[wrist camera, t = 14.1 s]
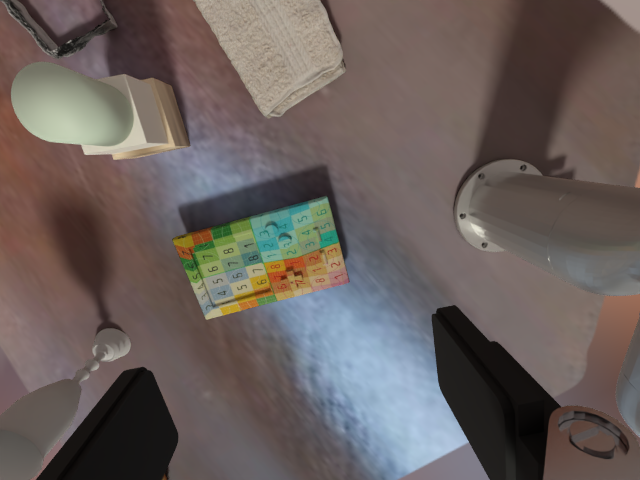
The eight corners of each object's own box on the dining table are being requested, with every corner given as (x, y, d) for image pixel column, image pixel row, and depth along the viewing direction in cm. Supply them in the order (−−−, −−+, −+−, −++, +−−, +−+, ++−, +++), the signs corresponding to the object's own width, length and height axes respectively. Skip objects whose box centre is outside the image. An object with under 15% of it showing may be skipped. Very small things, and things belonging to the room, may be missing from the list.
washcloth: (270, 126, 40) (267, 124, 37) (177, -20, 35) (165, -36, 32) (351, 70, 38) (355, 64, 36) (266, -90, 34) (262, -112, 31)
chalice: (96, 366, 48) (-21, 489, 31) (80, 327, 46) (-55, 436, 29) (144, 358, 48) (54, 478, 31) (129, 319, 46) (25, 423, 29)
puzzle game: (350, 285, 41) (203, 323, 42) (346, 271, 46) (213, 306, 46) (328, 198, 38) (168, 241, 38) (325, 192, 42) (183, 231, 43)
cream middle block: (150, 84, 33) (124, 73, 28) (168, 143, 35) (147, 142, 30) (94, 95, 33) (58, 86, 28) (115, 153, 35) (84, 154, 30)
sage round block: (119, 75, 28) (70, 52, 23) (142, 138, 30) (101, 132, 24) (61, 91, 29) (-3, 72, 23) (86, 152, 30) (32, 150, 24)
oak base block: (172, 86, 38) (152, 77, 33) (190, 146, 40) (175, 146, 35) (114, 98, 38) (87, 91, 33) (136, 158, 40) (113, 159, 35)
